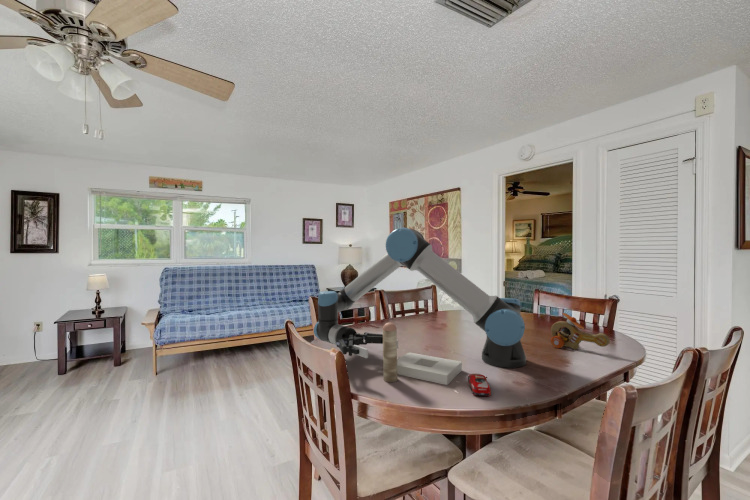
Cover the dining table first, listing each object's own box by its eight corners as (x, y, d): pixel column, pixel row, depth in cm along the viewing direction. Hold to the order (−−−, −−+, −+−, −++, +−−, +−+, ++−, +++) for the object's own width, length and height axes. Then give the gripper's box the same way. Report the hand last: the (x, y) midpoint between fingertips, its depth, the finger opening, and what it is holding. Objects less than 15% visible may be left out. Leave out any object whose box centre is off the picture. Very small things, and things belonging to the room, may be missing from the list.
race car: (467, 379, 108) (466, 367, 108) (484, 380, 107) (484, 368, 107) (471, 398, 95) (471, 383, 95) (492, 399, 94) (492, 384, 94)
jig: (461, 370, 115) (461, 361, 115) (447, 385, 103) (447, 375, 103) (408, 360, 125) (408, 352, 125) (390, 372, 114) (390, 363, 114)
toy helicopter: (556, 342, 145) (556, 310, 145) (613, 354, 129) (612, 318, 129) (547, 346, 140) (547, 313, 140) (605, 359, 124) (605, 321, 124)
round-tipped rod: (399, 378, 108) (398, 321, 108) (393, 383, 105) (392, 324, 105) (387, 375, 111) (387, 320, 111) (380, 380, 107) (380, 323, 107)
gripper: (368, 339, 134) (408, 351, 118) (314, 354, 117) (353, 370, 101) (368, 321, 133) (408, 330, 118) (314, 332, 117) (352, 345, 101)
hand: (383, 348), depth 109 cm, fingers open, 13 cm apart
